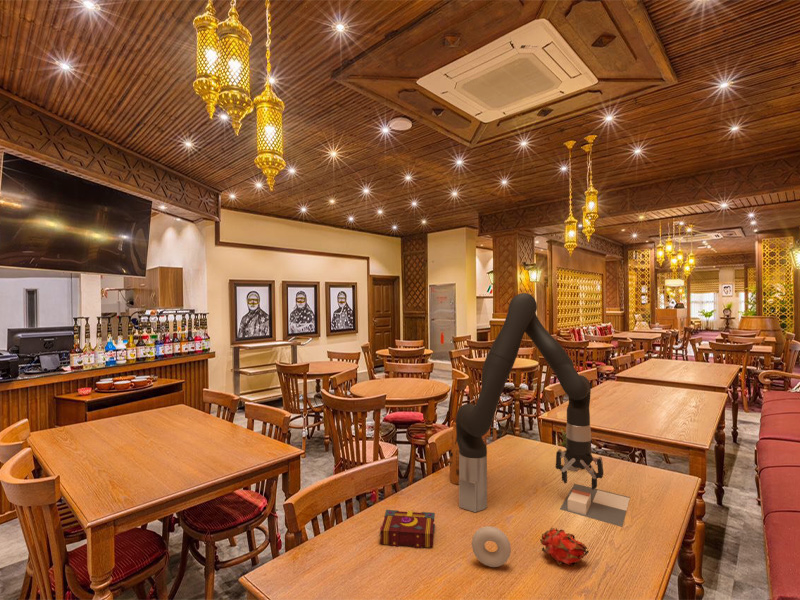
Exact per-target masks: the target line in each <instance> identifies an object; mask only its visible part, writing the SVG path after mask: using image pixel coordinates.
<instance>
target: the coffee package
mask: <svg viewBox="0 0 800 600" xmlns="http://www.w3.org/2000/svg"><path fill="white" fill-rule="evenodd" d="M451 436H452V437H451V440H452V442H451V450H450V455H449V476H450V477H449V478H450V483H451V484H452V485H459V446H458V443H457V434H456V421H455V422H453V423H452V435H451Z"/></svg>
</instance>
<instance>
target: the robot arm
mask: <svg viewBox="0 0 800 600" xmlns="http://www.w3.org/2000/svg"><path fill="white" fill-rule="evenodd" d="M537 309H538V305H537V301H536V298H535V297H534V296H533V295H532V294H530V293H526V292H523V293H518V294H517V295H514V296H513V297H512V299H511V300H510V302H509V303H508V307H507V310H508V311H507V314H506V316H505V320H504V323H503V325H502V328H501V329H500V331H499V332H498V334H497V336H496V338H495V339H494V341H493V343H492V344H491V347H490V349H489V350H488V353H487V355H486V357H485V359H484V363H483V365H482V369H481V388H480V393H479V396H478V398H477V400H476V403H475V404H473V403H464V404H462V405H461V406H460V407H459V408H458V410H457V413H456V417H455V423H456V434H457V443H458V446H459V484H458V506H459V508H461V509H464V510H467V511H470V512H474V513H477V512H480V511H483V510H486V508H487V507H488V449H487V448H488V447H487V445H486V443H485V441H484V439H483V436H485V435H486V434H487V433H488V432H489V430H490V429H491V426H492V424H493V422H494V421H493V420H494V417H495V413H496V411H497V407H498V404H499V402H500V401H499V400H500V398H501V396H502V394H503V392H504V391H503V390H504V388H505V385H506V383H507V380H508V378H509V377H510V374H511V372H512V369H513V367H514V366H515V365H514V364H515V362H516V360H517V356H518V354H519V350H520V347H521V344H522V340H523V338H524V336H525V335H524V334H526V335H527V336H528V338H529V339H530V340H531V341H532V343H533V344H534V346H535V347H536V348H537V350H538V351H539V352H540V354H541V356H542V357H543V359H544V361H545V362H546V363H547V364H548V366H549V367H550V368H551V370H552V371H553V372H554V374H555V376H556V379H557V380H558V382H559V384H560V387H561V388H562V390H563V391H564V393H565V394H566V395H567V396H568V405H567V407H566V426H565V427H566V429H565V431H566V432H565V433H566V447H565V450H566V452H563V451H564V450H562V449H557V450H556V453H555V469H557V470H560V471H561V481H562V482H563V483H564V484H567V483H568V470H567V469H568V468H569V467H570V466H571V465H572V466H573V467H575V468H579V470H580V469H581V470H585V471H586V472H587V473H588V474H589V475H590V477H591V488H592V490H594V489H597V487H598V479H603V478H604V466H603V465H604V463H603V458H602V457H601V456H599V457H594V456H593V454H592V430H591V414H590V404H591V391H592V390H591V382H590V380H588V378H587V377H586V376H584V375H581V374H579V373H578V372H577V370H576V369H575V366H574V362H573V360H572V358H571V357H570V356H569V354H568V353H567V351H566V350H565V349H564V347H563V346H562V345H561V344H560V343H559V341H558V340H557V339H556V338H555V337H554V336H552V334H551V333H550V332H548V330H547V329H546V328H545V326H543V324H542V322H541V321H540V319H539V318H538V316H537ZM563 456H565V457H566V458H567V460H568V462H567V463H566V464H565V463H564V465H563V464H562V459H564V457H563ZM592 462H594V464H595V466H597V471H596V470H595V469H594V466H593V465H592Z"/></svg>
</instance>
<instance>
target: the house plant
mask: <svg viewBox="0 0 800 600" xmlns="http://www.w3.org/2000/svg"><path fill="white" fill-rule="evenodd" d="M560 431H561V433H562V435H563V436H562V435H561V434H560V433H558V435H559V436H560V438H561V439H562V440H563V441H561V442H557V443H555V444H556V445H559V446H563V447H564V448H566V432H565V431H564V430H563V429H562V428H560ZM562 451H563V452H566V449H565V450H562ZM563 461H564V465H565V464H566V463H567V462H568V460H567V458H566V457H565V456H563ZM578 470H580V468H575V467H573V466H572V465H571V466H570V467H569V468H568V469H567V471H571V472H578Z"/></svg>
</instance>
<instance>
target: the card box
mask: <svg viewBox="0 0 800 600" xmlns="http://www.w3.org/2000/svg"><path fill="white" fill-rule="evenodd" d="M590 505H591V494H590V493H586V492H582V491H578V490H574V489H573V490H572V492H571V494H570V496H569V498H568V510H570V511H573V512H577V513H580V514H584V515H586V514H587V512H588V509H589V507H590Z"/></svg>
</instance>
